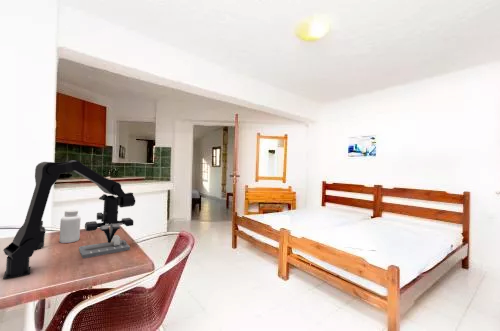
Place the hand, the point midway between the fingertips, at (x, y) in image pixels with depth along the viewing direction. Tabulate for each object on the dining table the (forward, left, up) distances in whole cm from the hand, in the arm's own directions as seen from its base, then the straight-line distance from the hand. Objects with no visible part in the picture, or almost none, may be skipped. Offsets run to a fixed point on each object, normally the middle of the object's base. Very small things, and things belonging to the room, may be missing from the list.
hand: (109, 242), depth 108 cm
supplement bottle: (+19, +26, -3) cm, 32 cm away
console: (0, +2, -3) cm, 3 cm away
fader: (0, -3, -1) cm, 3 cm away
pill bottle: (+23, +13, -3) cm, 26 cm away
